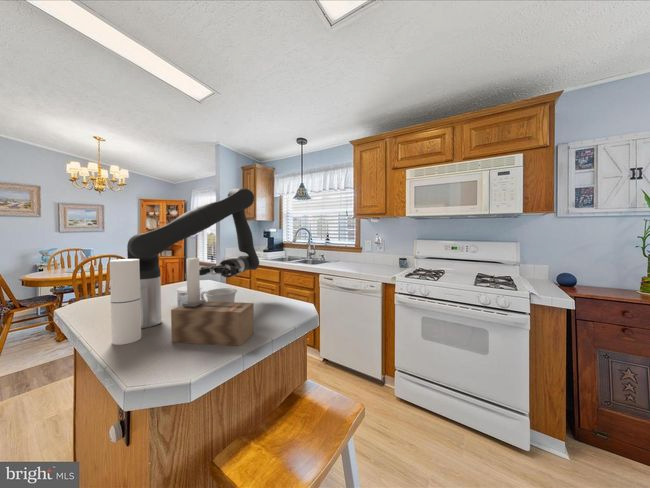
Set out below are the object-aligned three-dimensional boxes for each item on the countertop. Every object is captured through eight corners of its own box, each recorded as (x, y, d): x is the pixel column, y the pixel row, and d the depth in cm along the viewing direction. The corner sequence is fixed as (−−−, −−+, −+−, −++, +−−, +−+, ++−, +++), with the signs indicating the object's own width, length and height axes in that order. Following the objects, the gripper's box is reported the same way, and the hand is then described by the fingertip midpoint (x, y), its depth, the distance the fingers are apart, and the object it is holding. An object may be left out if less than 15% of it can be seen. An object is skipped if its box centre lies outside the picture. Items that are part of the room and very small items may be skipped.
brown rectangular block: (171, 342, 76) (171, 309, 76) (192, 329, 86) (191, 300, 86) (240, 345, 74) (240, 311, 73) (253, 332, 84) (253, 302, 83)
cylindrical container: (117, 346, 73) (115, 261, 72) (108, 341, 76) (105, 260, 75) (145, 338, 79) (143, 259, 78) (135, 333, 82) (133, 258, 82)
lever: (182, 306, 78) (181, 259, 77) (192, 301, 83) (191, 257, 82) (195, 306, 77) (194, 259, 77) (204, 302, 82) (203, 257, 82)
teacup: (210, 310, 108) (209, 287, 107) (242, 311, 106) (242, 288, 105) (191, 319, 96) (191, 294, 95) (227, 321, 94) (227, 295, 93)
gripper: (216, 258, 107) (192, 262, 91) (248, 258, 105) (229, 262, 89) (216, 275, 107) (192, 282, 91) (248, 276, 106) (229, 283, 89)
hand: (211, 272), depth 90 cm, fingers open, 8 cm apart
